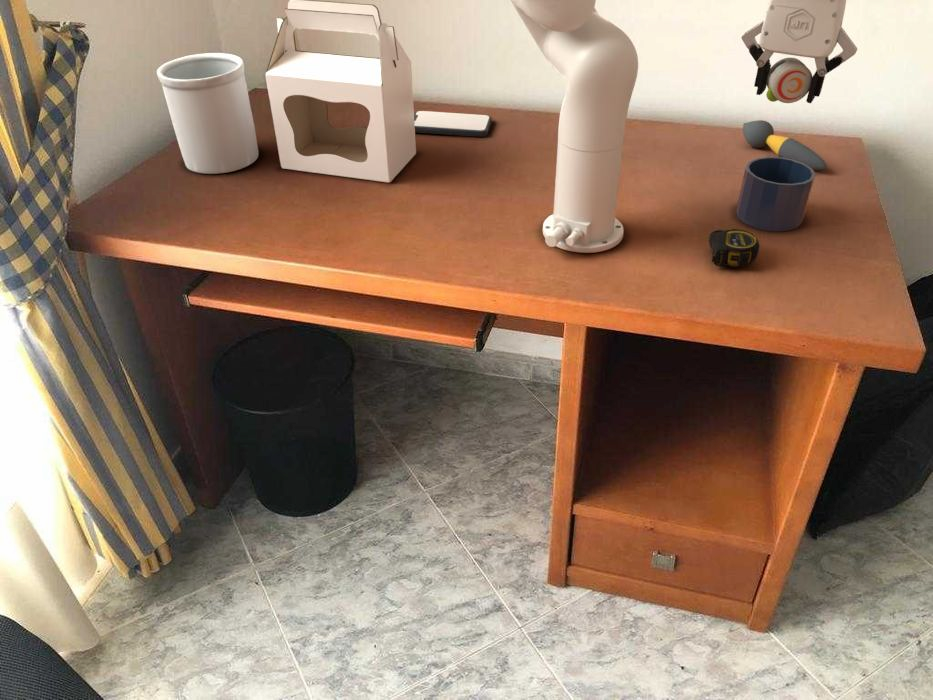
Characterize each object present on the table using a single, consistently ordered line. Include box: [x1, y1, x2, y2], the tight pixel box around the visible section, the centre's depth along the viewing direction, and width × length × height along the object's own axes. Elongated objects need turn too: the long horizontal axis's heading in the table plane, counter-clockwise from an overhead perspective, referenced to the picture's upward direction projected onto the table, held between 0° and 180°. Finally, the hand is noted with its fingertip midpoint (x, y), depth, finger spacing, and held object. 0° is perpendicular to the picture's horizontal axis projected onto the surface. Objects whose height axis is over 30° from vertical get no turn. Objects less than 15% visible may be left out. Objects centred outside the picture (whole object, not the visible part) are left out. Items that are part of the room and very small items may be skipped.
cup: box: [735, 156, 816, 232], centre depth 124 cm, size 10×10×8 cm
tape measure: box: [708, 228, 760, 268], centre depth 115 cm, size 7×7×4 cm
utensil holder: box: [156, 52, 259, 175], centre depth 142 cm, size 15×15×18 cm
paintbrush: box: [742, 119, 828, 171], centre depth 144 cm, size 20×5×5 cm, turn 38°
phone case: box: [414, 110, 493, 138], centre depth 158 cm, size 9×2×16 cm
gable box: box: [264, 0, 417, 184], centre depth 137 cm, size 22×13×28 cm, turn 72°
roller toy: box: [766, 57, 813, 104], centre depth 116 cm, size 4×6×6 cm
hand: (785, 95), depth 117 cm, fingers closed on roller toy, 6 cm apart
